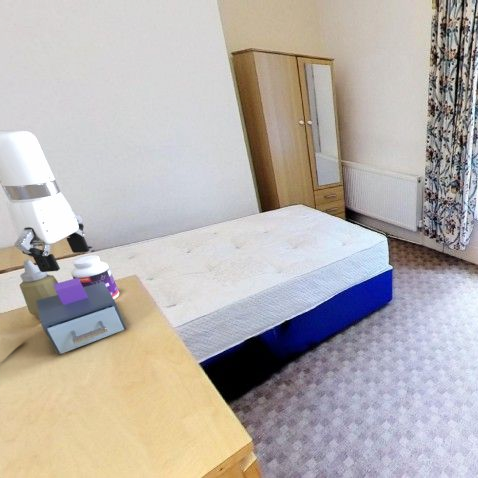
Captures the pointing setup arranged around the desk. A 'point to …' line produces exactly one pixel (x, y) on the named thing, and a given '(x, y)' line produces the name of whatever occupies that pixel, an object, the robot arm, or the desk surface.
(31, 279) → the squeeze bottle
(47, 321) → the dark grey drawer cabinet
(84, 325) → the pull-out drawer
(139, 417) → the desk surface
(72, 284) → the block
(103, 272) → the pill bottle
